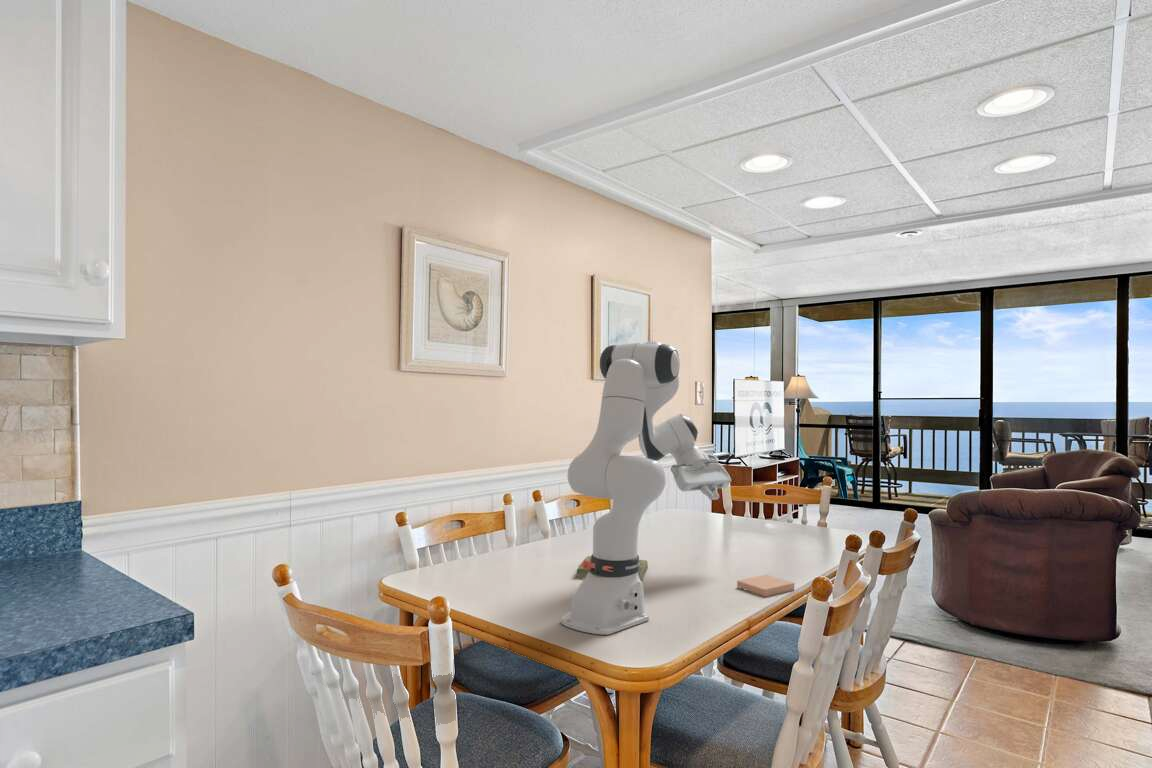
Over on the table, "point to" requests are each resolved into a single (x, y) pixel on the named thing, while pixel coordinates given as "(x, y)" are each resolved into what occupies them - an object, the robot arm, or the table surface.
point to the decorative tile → (583, 572)
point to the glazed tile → (766, 585)
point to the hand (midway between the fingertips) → (715, 498)
